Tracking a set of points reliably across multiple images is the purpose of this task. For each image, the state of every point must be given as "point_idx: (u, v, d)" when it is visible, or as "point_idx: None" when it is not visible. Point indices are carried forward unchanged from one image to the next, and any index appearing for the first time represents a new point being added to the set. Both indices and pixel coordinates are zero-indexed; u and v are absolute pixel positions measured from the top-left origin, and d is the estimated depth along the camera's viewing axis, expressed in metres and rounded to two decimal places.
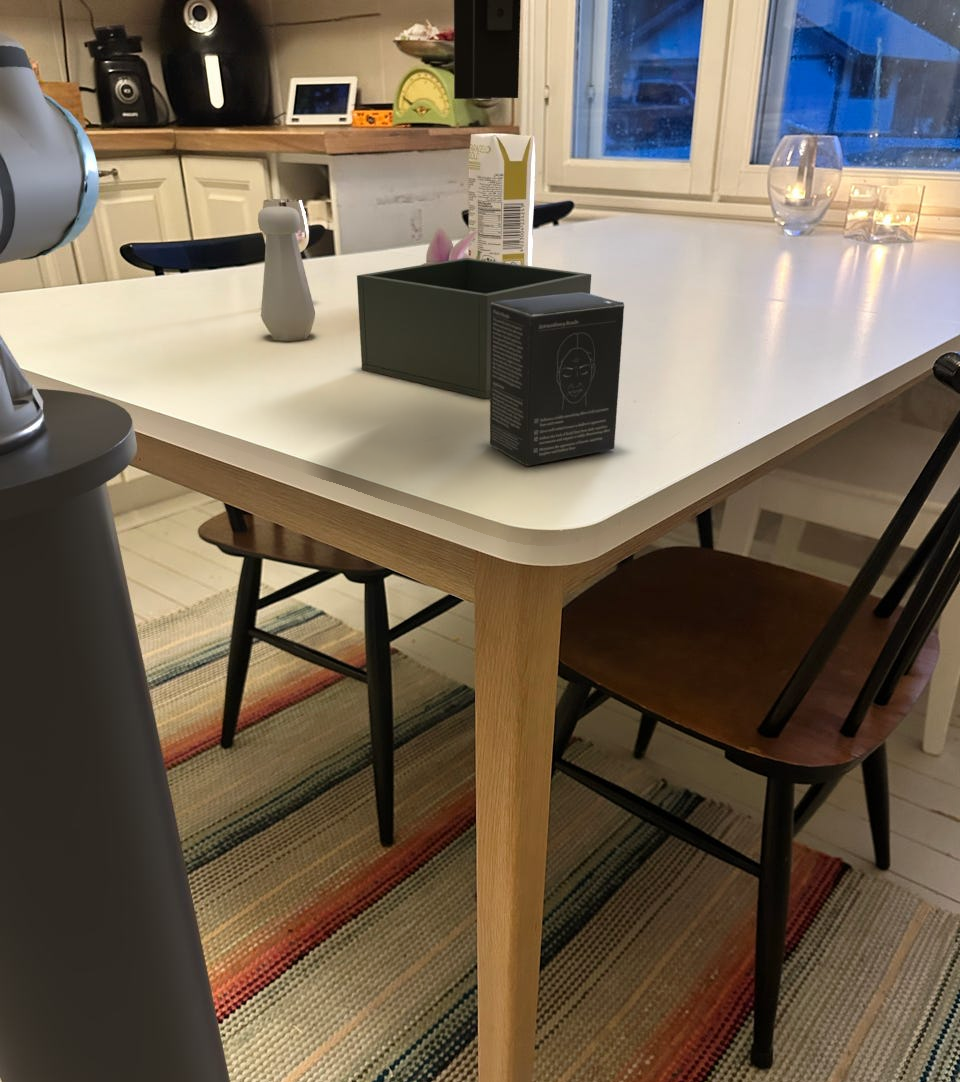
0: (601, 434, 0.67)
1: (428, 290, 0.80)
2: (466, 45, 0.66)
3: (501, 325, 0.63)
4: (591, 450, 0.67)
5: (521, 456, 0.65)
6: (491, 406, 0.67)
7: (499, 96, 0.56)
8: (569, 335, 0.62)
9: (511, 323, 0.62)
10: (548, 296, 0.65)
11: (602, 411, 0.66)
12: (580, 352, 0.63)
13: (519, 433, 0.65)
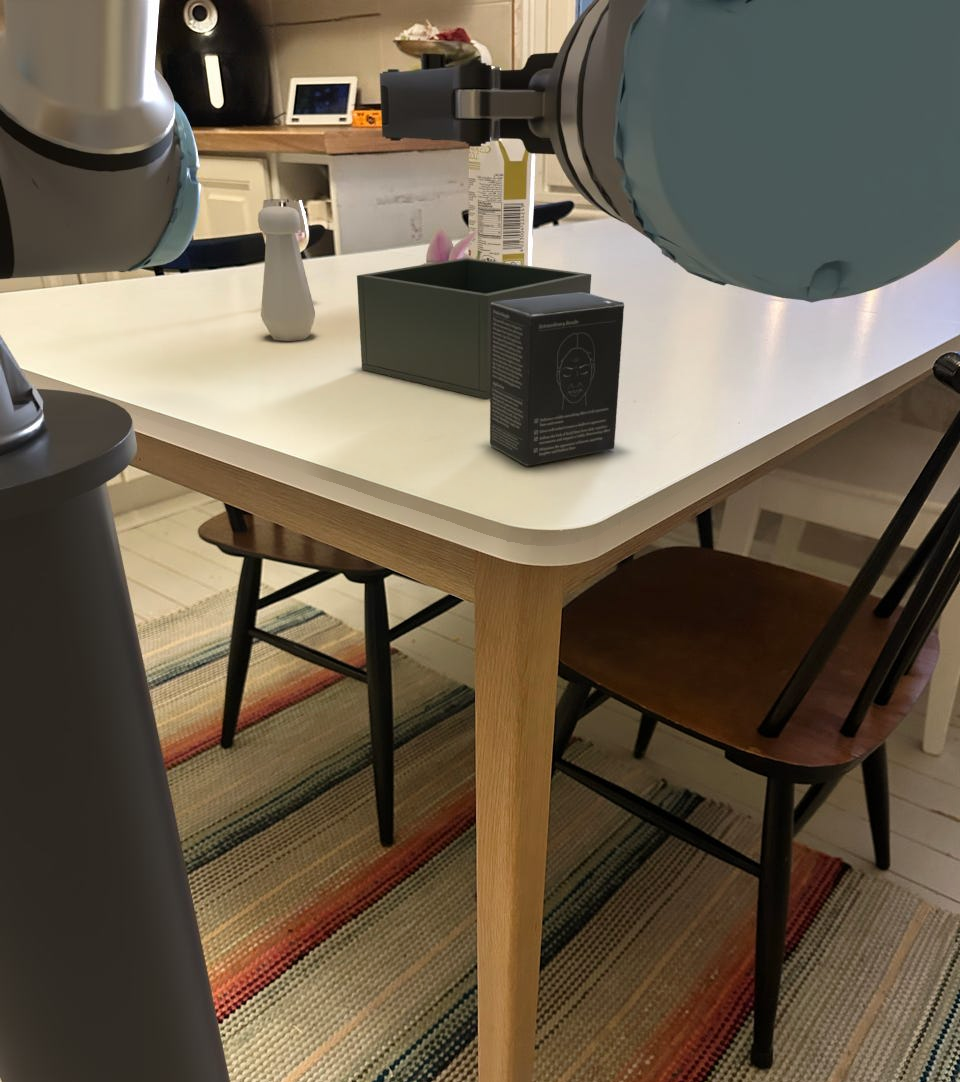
0: (601, 434, 0.67)
1: (428, 290, 0.80)
2: None
3: (501, 325, 0.63)
4: (591, 450, 0.67)
5: (521, 456, 0.65)
6: (491, 406, 0.67)
7: None
8: (569, 335, 0.62)
9: (511, 323, 0.62)
10: (548, 296, 0.65)
11: (602, 411, 0.66)
12: (580, 352, 0.63)
13: (519, 433, 0.65)
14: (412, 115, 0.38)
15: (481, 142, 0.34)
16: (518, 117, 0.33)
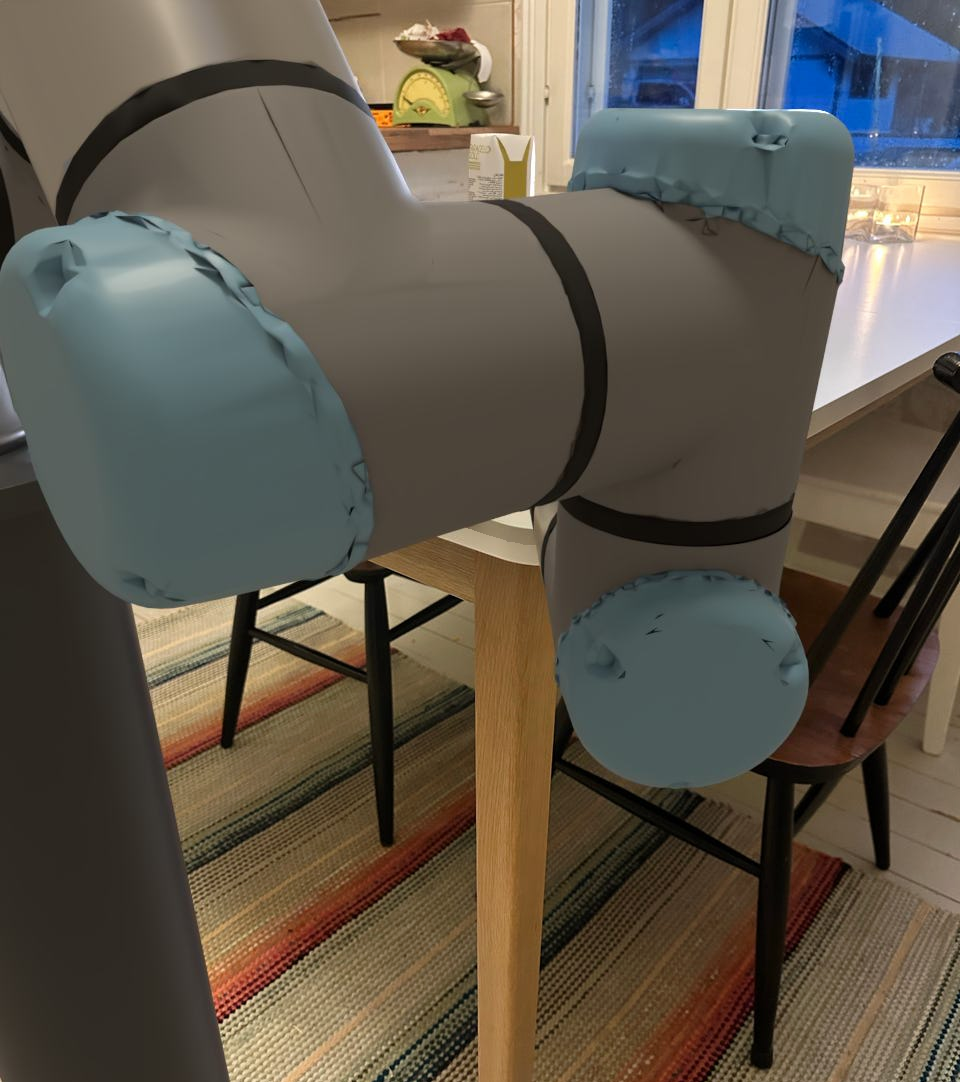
0: None
1: None
2: None
3: None
4: None
5: None
6: None
7: None
8: None
9: None
10: None
11: None
12: None
13: None
14: None
15: None
16: None
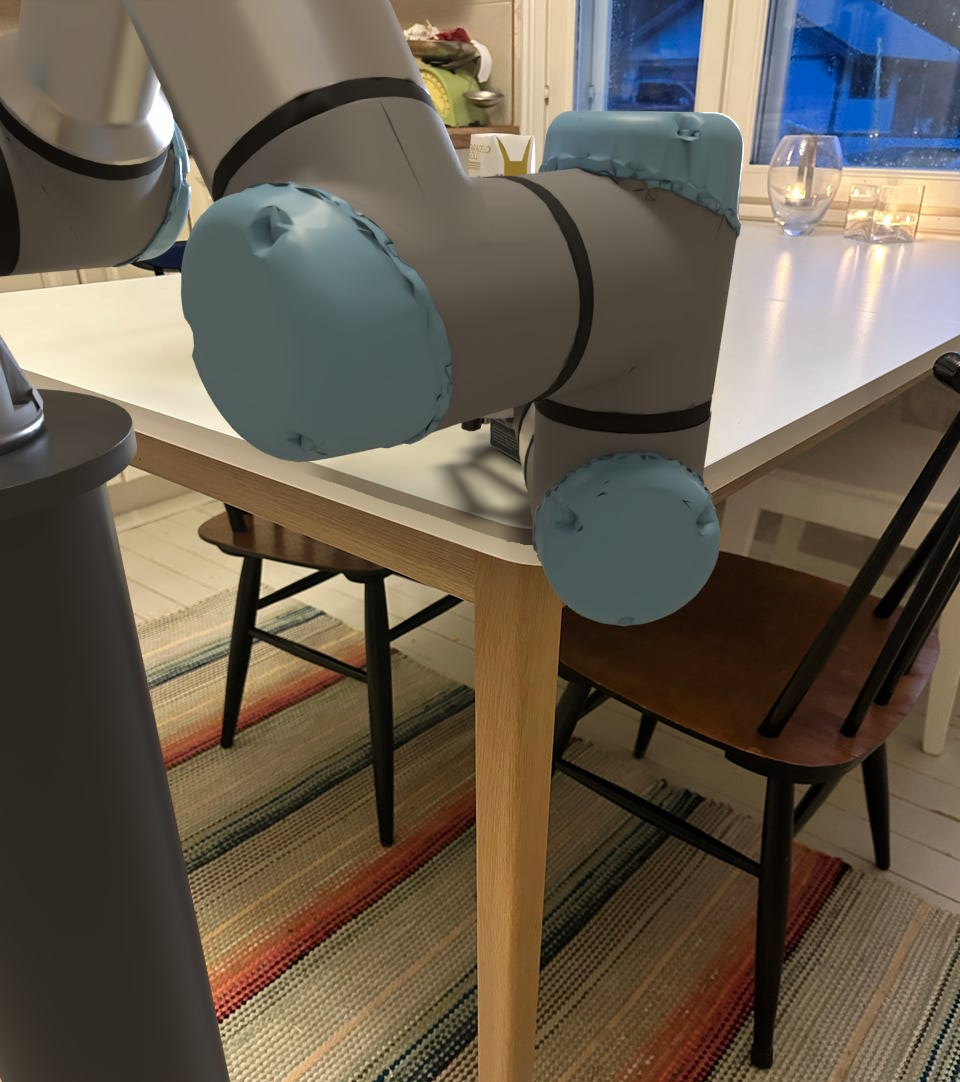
0: None
1: None
2: None
3: None
4: None
5: None
6: None
7: None
8: None
9: None
10: None
11: None
12: None
13: None
14: None
15: (473, 430, 0.55)
16: (495, 418, 0.55)
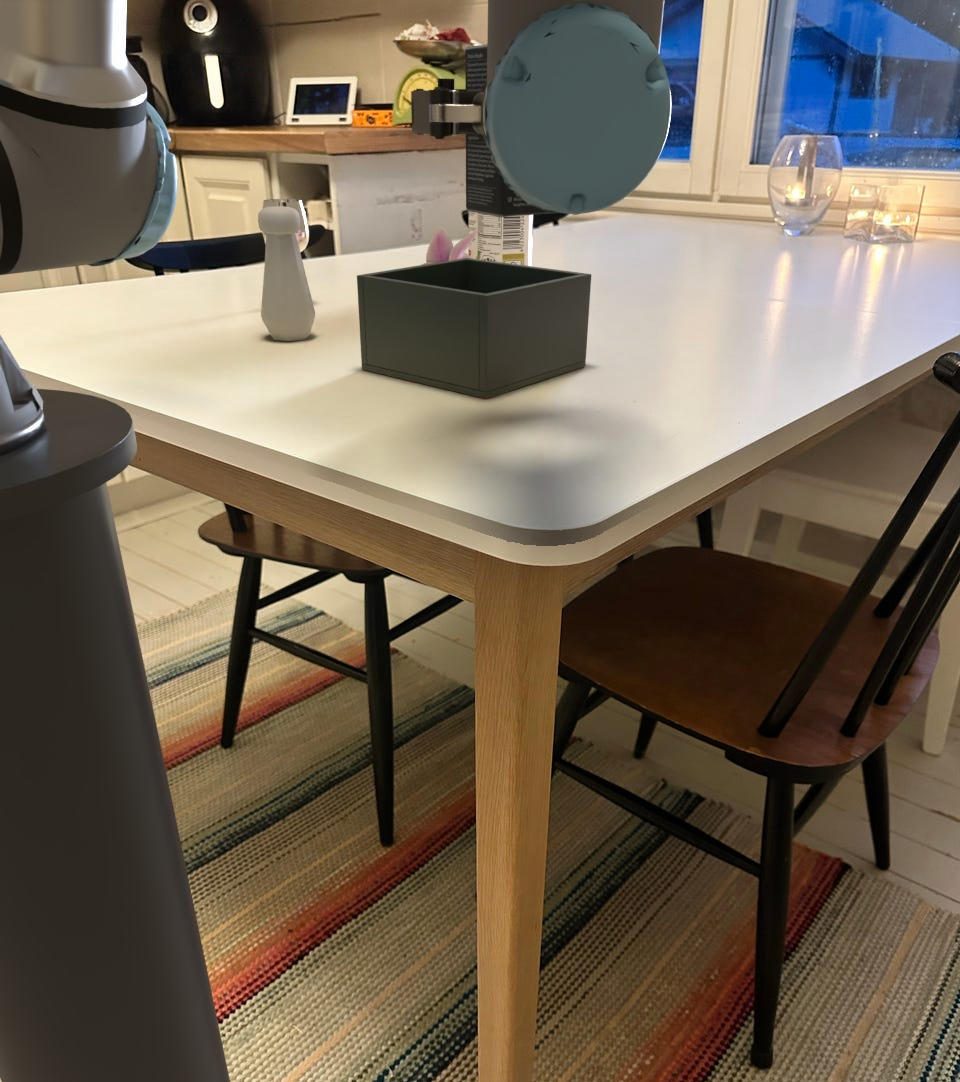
0: None
1: (428, 290, 0.80)
2: None
3: (475, 68, 0.63)
4: None
5: (495, 208, 0.65)
6: (467, 165, 0.67)
7: None
8: None
9: (484, 60, 0.62)
10: None
11: None
12: None
13: (493, 183, 0.65)
14: (421, 119, 0.60)
15: (441, 136, 0.55)
16: (464, 121, 0.55)
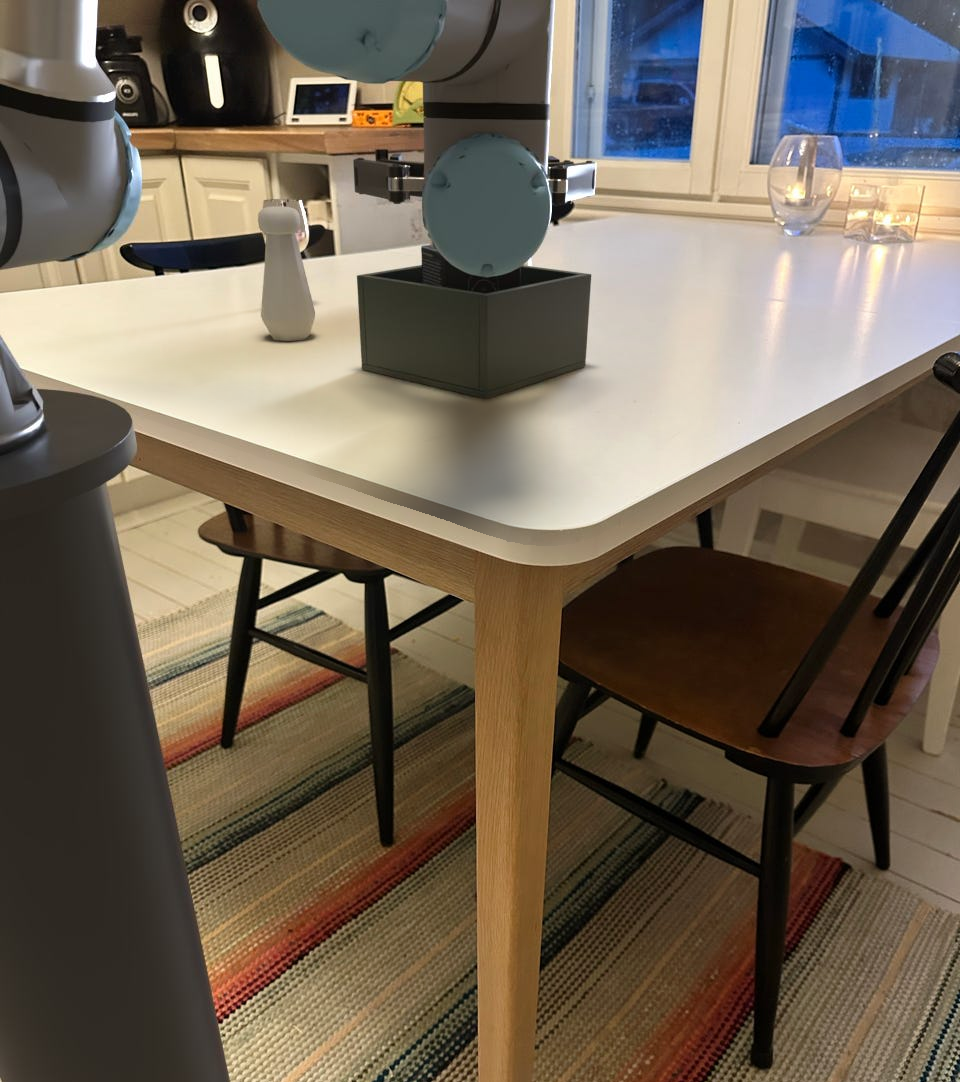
0: None
1: (428, 290, 0.80)
2: None
3: (428, 263, 0.84)
4: None
5: None
6: None
7: None
8: None
9: (434, 260, 0.83)
10: None
11: None
12: (487, 283, 0.84)
13: None
14: (369, 184, 0.74)
15: (399, 202, 0.70)
16: (417, 190, 0.70)
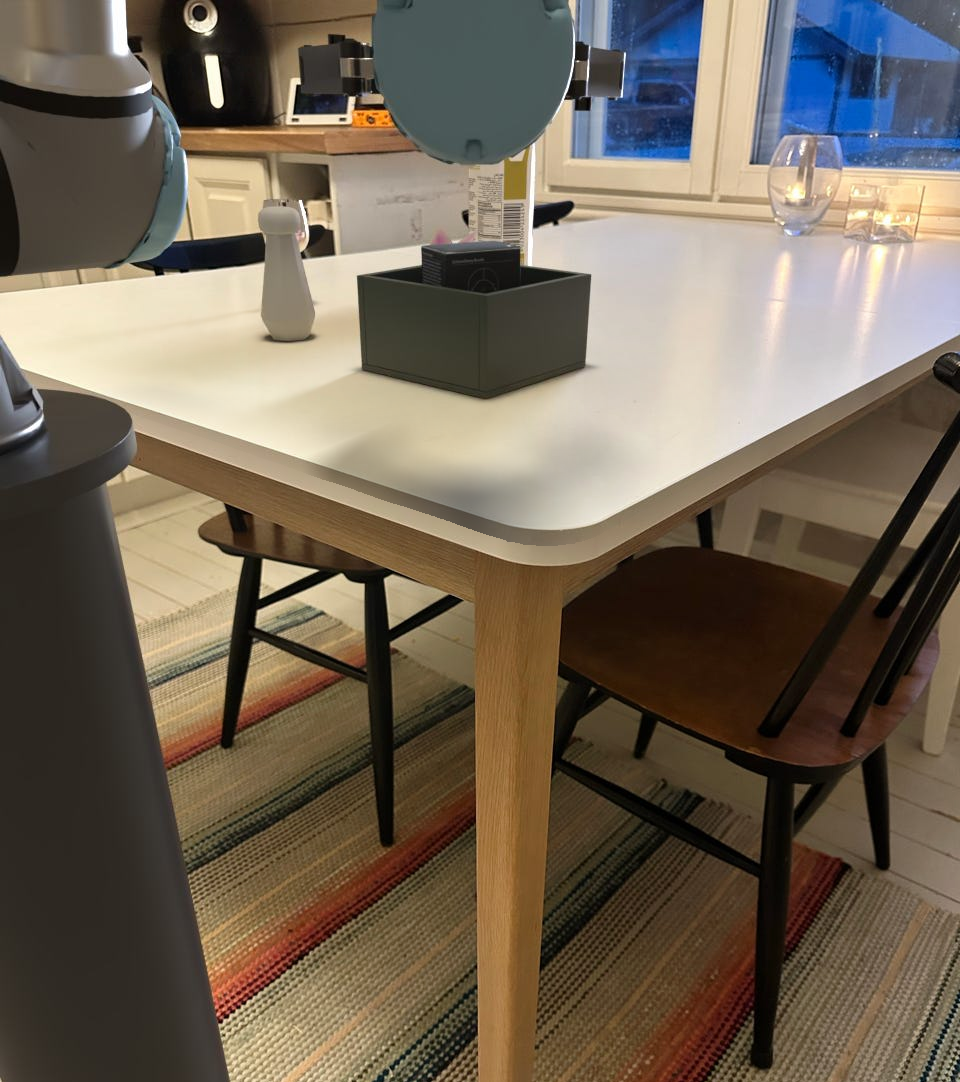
0: None
1: (428, 290, 0.80)
2: None
3: (428, 263, 0.84)
4: None
5: None
6: None
7: None
8: (476, 269, 0.83)
9: (434, 260, 0.83)
10: (466, 242, 0.86)
11: None
12: (487, 283, 0.84)
13: None
14: (318, 77, 0.54)
15: (356, 93, 0.50)
16: None
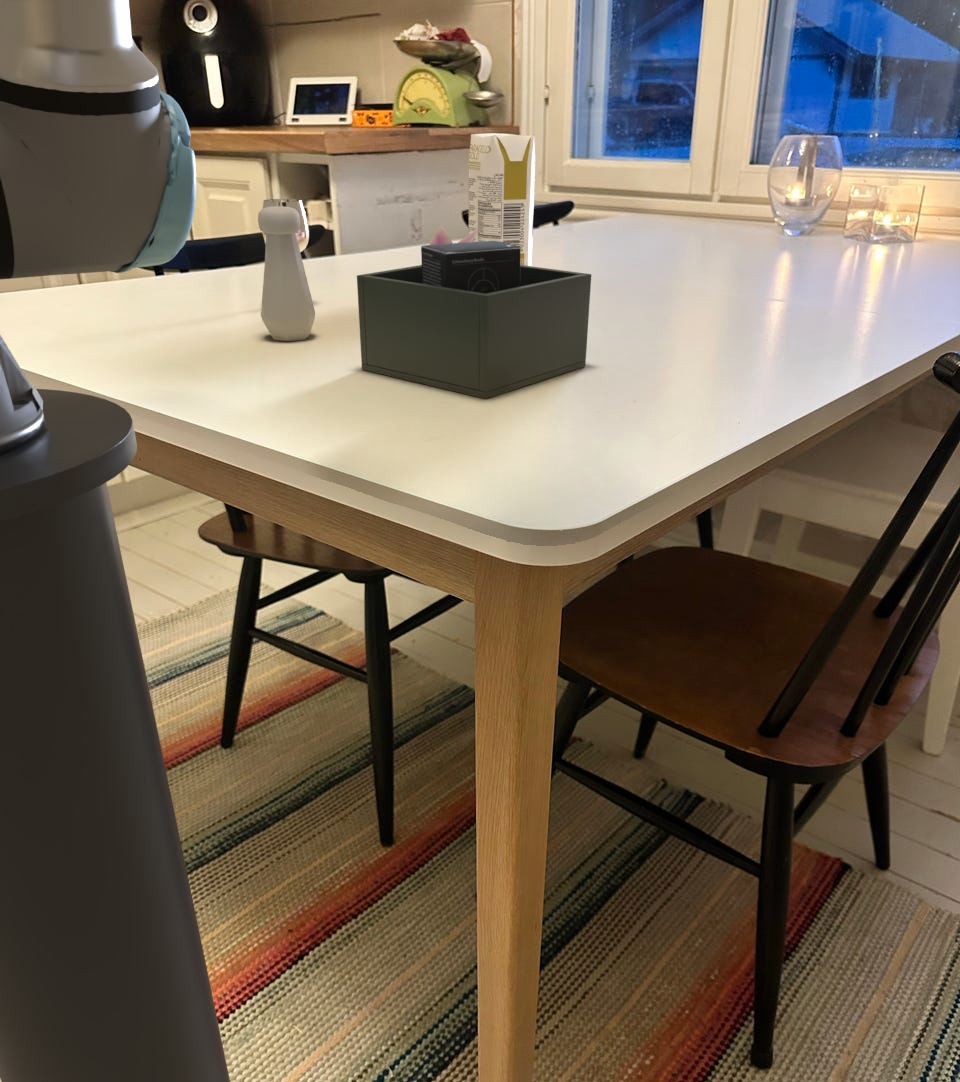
0: None
1: (428, 290, 0.80)
2: None
3: (427, 263, 0.84)
4: None
5: None
6: None
7: None
8: (476, 269, 0.83)
9: (434, 260, 0.83)
10: (466, 242, 0.86)
11: None
12: (487, 283, 0.84)
13: None
14: None
15: None
16: None
